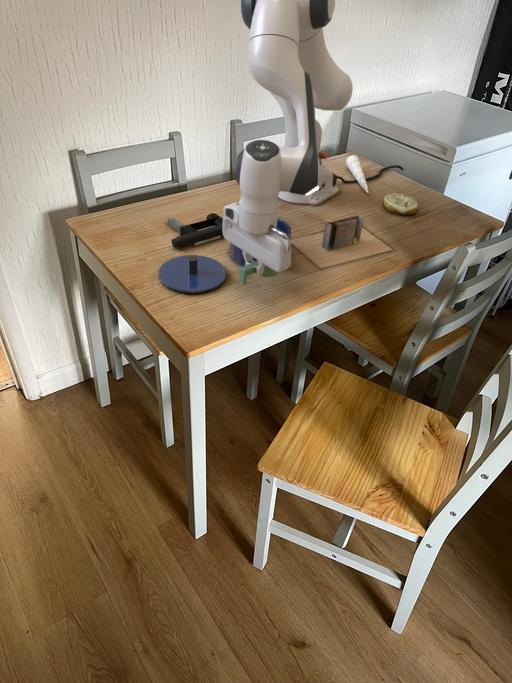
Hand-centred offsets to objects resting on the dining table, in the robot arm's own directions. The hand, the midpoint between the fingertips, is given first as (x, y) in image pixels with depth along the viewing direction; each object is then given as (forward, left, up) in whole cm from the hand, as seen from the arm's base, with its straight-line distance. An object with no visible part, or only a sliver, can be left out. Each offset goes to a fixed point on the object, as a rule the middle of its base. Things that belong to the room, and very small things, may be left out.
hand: (254, 270), depth 129 cm
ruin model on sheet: (-36, -2, -6) cm, 36 cm away
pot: (-13, -12, -6) cm, 19 cm away
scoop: (-1, 0, -2) cm, 3 cm away
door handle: (-6, -32, -6) cm, 33 cm away
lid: (+8, -14, -5) cm, 17 cm away
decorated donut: (-69, -6, -6) cm, 70 cm away
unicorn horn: (-77, -29, -6) cm, 83 cm away
